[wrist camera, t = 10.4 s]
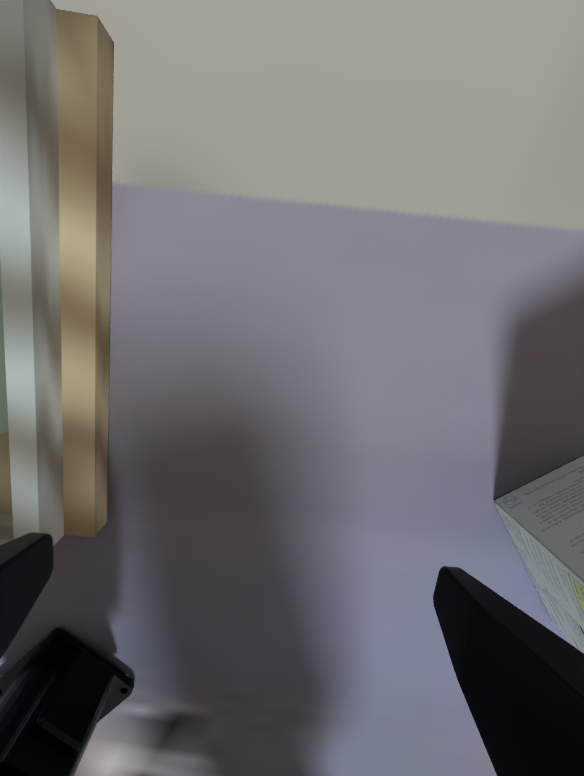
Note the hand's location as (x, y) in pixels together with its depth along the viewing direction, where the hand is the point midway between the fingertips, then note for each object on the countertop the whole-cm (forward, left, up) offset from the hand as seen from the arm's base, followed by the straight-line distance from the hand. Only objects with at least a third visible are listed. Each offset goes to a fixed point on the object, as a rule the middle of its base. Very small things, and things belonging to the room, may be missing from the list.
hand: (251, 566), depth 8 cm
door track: (-5, +13, -12) cm, 18 cm away
